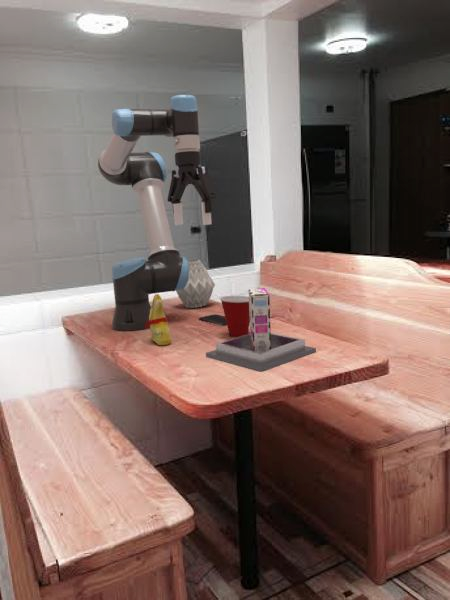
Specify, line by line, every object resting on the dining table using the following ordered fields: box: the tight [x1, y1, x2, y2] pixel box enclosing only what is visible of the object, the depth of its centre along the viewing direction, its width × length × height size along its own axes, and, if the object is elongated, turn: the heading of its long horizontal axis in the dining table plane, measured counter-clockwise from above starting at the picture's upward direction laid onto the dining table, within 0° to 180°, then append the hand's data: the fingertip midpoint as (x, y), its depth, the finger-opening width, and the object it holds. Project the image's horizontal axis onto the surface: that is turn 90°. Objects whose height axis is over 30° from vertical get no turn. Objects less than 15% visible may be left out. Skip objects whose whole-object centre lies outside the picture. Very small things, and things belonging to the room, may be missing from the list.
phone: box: [198, 313, 227, 327], centre depth 187 cm, size 8×1×15 cm
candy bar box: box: [247, 287, 272, 353], centre depth 143 cm, size 11×5×16 cm, turn 2°
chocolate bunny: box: [145, 293, 172, 346], centre depth 162 cm, size 7×11×15 cm, turn 25°
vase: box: [175, 259, 216, 309], centre depth 214 cm, size 16×16×18 cm
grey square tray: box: [205, 332, 317, 372], centre depth 144 cm, size 21×21×4 cm
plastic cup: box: [219, 295, 250, 338], centre depth 165 cm, size 11×11×12 cm
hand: (192, 224), depth 160 cm, fingers open, 13 cm apart
